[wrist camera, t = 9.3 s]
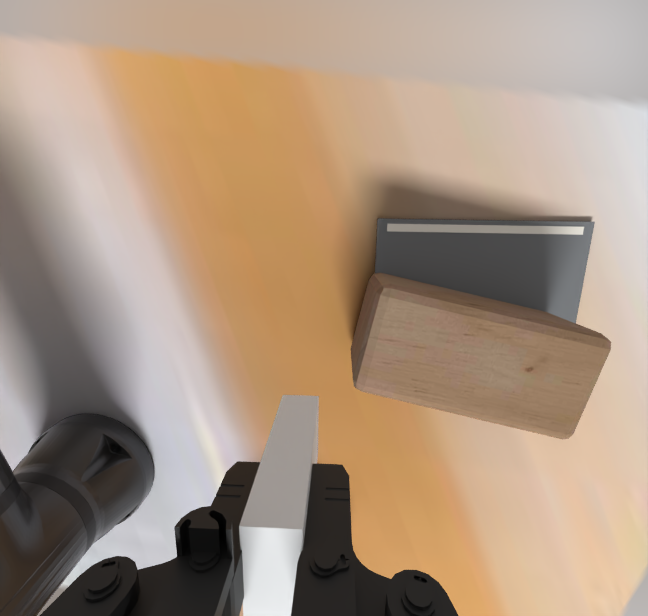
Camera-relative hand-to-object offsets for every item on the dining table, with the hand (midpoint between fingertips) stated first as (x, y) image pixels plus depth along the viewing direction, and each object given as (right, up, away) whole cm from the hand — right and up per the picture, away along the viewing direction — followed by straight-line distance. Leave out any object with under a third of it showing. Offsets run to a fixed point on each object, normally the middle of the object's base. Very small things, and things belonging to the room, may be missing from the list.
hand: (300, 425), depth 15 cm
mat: (+18, +6, +24) cm, 30 cm away
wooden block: (+4, +3, +19) cm, 20 cm away
